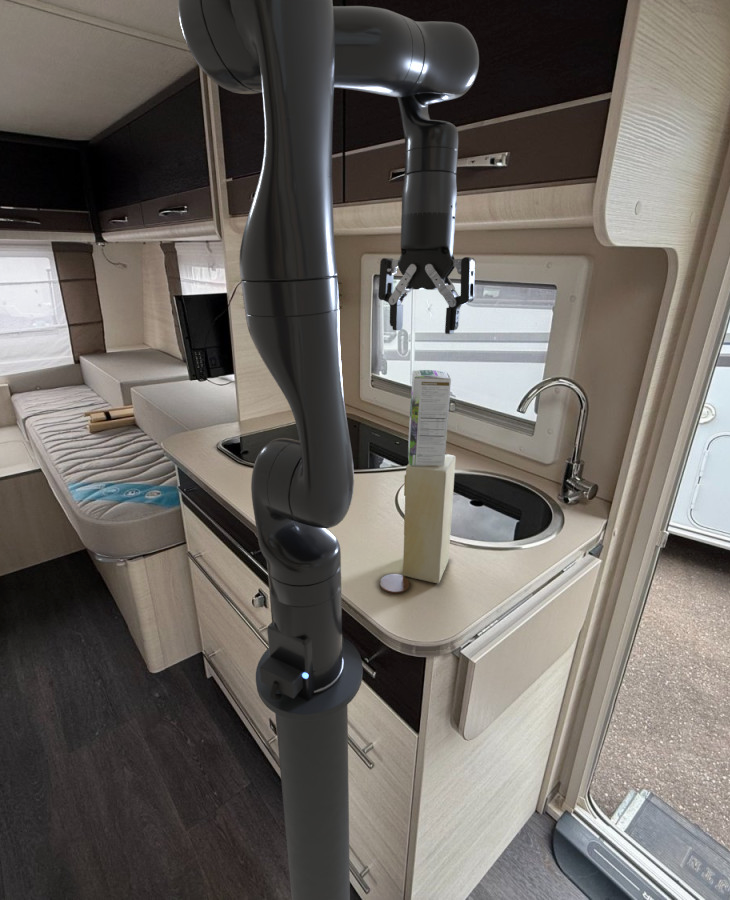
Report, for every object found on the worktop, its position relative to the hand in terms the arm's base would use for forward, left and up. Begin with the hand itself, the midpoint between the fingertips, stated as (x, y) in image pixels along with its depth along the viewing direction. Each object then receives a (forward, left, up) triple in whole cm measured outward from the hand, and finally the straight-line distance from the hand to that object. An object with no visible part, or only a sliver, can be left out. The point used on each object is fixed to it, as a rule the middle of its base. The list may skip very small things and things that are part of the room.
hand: (422, 331), depth 71 cm
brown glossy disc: (-7, 0, -42) cm, 42 cm away
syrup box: (0, -2, -21) cm, 21 cm away
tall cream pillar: (0, -2, -42) cm, 42 cm away
